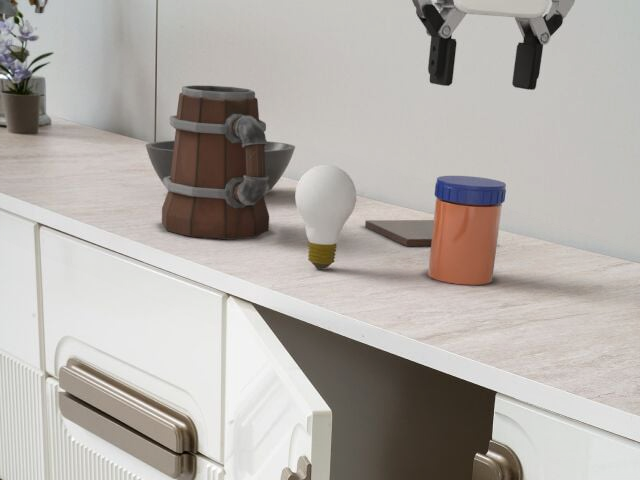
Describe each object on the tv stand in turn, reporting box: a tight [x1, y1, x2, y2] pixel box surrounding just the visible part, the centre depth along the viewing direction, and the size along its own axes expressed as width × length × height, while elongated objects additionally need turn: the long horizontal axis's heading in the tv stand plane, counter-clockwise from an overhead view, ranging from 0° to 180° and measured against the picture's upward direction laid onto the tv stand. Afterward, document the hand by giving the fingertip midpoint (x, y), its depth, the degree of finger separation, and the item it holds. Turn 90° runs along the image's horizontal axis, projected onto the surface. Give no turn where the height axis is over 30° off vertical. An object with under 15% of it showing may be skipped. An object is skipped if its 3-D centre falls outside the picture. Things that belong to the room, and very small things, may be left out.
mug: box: [161, 84, 270, 240], centre depth 122 cm, size 16×12×15 cm
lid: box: [434, 175, 507, 205], centre depth 109 cm, size 7×7×2 cm
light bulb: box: [294, 164, 357, 270], centre depth 109 cm, size 6×6×10 cm
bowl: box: [145, 139, 296, 196], centre depth 148 cm, size 12×22×6 cm, turn 130°
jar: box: [427, 197, 503, 286], centre depth 110 cm, size 6×6×9 cm
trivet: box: [364, 219, 434, 247], centre depth 131 cm, size 11×11×1 cm
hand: (482, 85), depth 105 cm, fingers open, 8 cm apart
